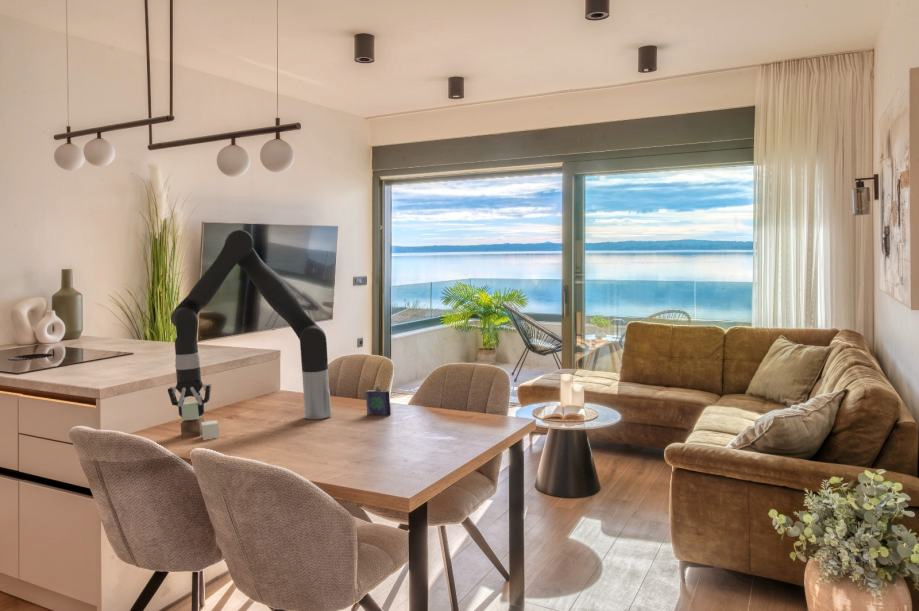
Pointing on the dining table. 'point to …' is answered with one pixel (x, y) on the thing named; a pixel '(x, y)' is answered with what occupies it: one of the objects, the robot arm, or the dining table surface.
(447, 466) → the dining table surface
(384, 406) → the flask
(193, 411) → the sage block
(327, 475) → the dining table surface
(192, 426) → the walnut block
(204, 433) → the cream block
